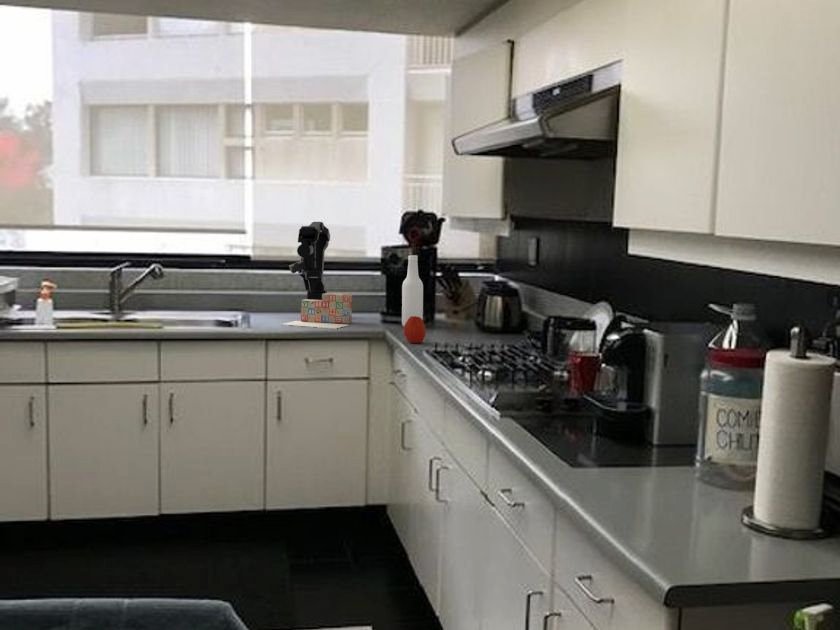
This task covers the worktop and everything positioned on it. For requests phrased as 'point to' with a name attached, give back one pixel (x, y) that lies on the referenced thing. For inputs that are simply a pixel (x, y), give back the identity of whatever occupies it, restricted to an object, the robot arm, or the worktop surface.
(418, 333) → the red oval lump
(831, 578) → the worktop surface
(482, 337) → the worktop surface
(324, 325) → the mat
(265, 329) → the worktop surface
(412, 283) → the alcohol
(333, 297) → the stack of blocks
